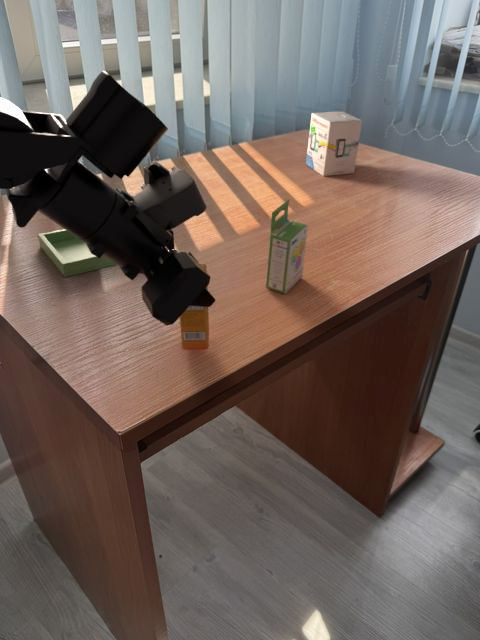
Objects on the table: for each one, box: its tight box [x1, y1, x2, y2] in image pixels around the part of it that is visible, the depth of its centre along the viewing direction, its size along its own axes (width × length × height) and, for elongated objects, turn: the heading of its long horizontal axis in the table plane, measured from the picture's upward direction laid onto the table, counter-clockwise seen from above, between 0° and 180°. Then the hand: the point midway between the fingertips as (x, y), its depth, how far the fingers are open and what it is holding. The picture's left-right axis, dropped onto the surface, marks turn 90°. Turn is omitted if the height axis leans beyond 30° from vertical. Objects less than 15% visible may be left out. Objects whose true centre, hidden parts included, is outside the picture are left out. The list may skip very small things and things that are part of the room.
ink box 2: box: [305, 110, 363, 177], centre depth 118 cm, size 8×8×12 cm
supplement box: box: [179, 263, 210, 351], centre depth 60 cm, size 3×3×10 cm
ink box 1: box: [265, 199, 309, 295], centre depth 74 cm, size 6×4×12 cm, turn 153°
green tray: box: [37, 228, 118, 278], centre depth 82 cm, size 15×11×2 cm
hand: (205, 294), depth 59 cm, fingers closed on supplement box, 4 cm apart
